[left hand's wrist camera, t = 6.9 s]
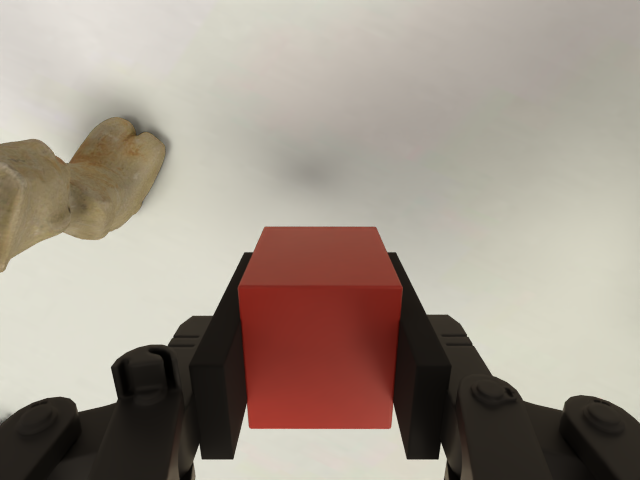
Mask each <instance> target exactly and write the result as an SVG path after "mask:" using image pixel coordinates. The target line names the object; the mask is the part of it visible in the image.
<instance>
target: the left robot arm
mask: <svg viewBox="0 0 640 480" xmlns="http://www.w3.org/2000/svg"><path fill="white" fill-rule="evenodd" d="M387 253H388V255H389V258H390V260H391V262H392V265H393V267H394V269H395V271H396V274H397V276H398V278H399V280H400V283H401V285H402V287H403V291H402V303H401V315H400V323H399V336H398V348H397V360H396V372H395V384H394V396H393V403H394V407H395V412H396V416H397V420H398V424H399V428H400V432H401V437H402V441H403V445H404V449H405V453H406V457H407V459H439V452H440V445H441V443H442V446H443V449H444V452H445V455H446V457H447V463H446V470H445V476H444V480H640V423H639V422H638V421H637V420H636V419H635V418H634V417H632V416H631V415H630V414H629V413H627V412H626V411H625V410H623V409H622V408H620V407H618V406H616V405H614V404H612V403H611V402H609V401H606V400H603V399H600V398H597V397H593V396H584V395H579V396H574V397H570V398H569V399H568V400H567V401H566V402H565V404H564V408H563V411H562V410H557V409H553V408H548V407H544V406H540V405H535V404H532V403H529V402H525V401H523V400H522V398H521V396H520V395H519V393H518V391H517V390H516V389H515V388H513V387H512V386H511V385H510V384H509V383H507V382H505V381H503V380H501V379H499V378H497V377H494V376H492V374H491V373H490V371H489V369H488V368H487V366H486V365H485V363H484V361H483V360H482V358H481V357H480V355H479V353H478V352H477V350H476V349H475V347H474V346H473V345H472V342H471V341H470V339H469V337H467V334H466V332H465V331H464V329H463V328H462V326H461V324H460V323H458V322H457V321H455V320H454V319H453V318H451V317H450V316H449V315H426V313H425V311H424V308H423V306H422V304H421V302H420V300H419V298H418V296H417V294H416V292H415V290H414V288H413V286H412V284H411V282H410V280H409V278H408V276H407V274H406V272H405V270H404V268H403V266H402V264H401V262H400V260H399V258H398V256H397V254H396V252H387ZM252 254H253V252H244V254H243V256H242V258H241V260H240V262H239V264H238V266H237V269H236V271H235V273H234V275H233V277H232V279H231V281H230V283H229V285H228V287H227V289H226V291H225V293H224V295H223V297H222V299H221V301H220V303H219V305H218V307H217V309H216V311H215V313H214V315H213V316H192V317H191V318H189V319H188V320H187V321H185V322H184V323H183V324H181V325H180V326H179V328H178V330H177V331H176V333H175V334H174V337H173V338H172V339H171V341H170V343H169V344H168V346H165V345H147V346H143V347H138V348H136V349H134V350H131V351H129V352H127V353H125V354H124V355H122V356H121V357H120V358H118V359H117V360H116V361H115V363H114V364H113V365H112V367H111V370H112V374H113V379H114V383H115V388H116V392H117V397H118V400H117V402H116V403H114V404H110V405H107V406H103V407H99V408H94V409H90V410H86V411H81V412H78V411H77V407H76V404H75V403H74V402H73V401H72V400H71V399H69V398H64V397H53V398H46V399H43V400H40V401H37V402H34V403H31V404H30V405H28V406H26V407H24V408H22V409H20V410H18V411H17V412H16V413H14V414H13V415H12V416H11V417H9V418H8V419H7V420H6V421H5V422H4V423H3V424H2V425H1V426H0V480H195V470H194V463H193V460H194V457H195V454H196V452H197V449H198V446H199V443H200V450H201V457H202V459H233V458H234V454H235V450H236V446H237V442H238V438H239V433H240V429H241V425H242V421H243V417H244V413H245V409H246V404H247V394H246V381H245V369H244V356H243V344H242V331H241V319H240V310H239V297H238V286H239V284H240V281H241V279H242V277H243V275H244V272H245V270H246V268H247V265H248V263H249V261H250V259H251V256H252Z"/></svg>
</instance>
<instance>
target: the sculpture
mask: <svg viewBox="0 0 640 480" xmlns="http://www.w3.org/2000/svg"><path fill="white" fill-rule="evenodd" d="M164 157H165V146H164V144H163V143H162V142H161V141H160V140H158V139H157V138H156V137H155V136H154V135H152V134H151V133H148V132H143V133H141V134H140V135H138V136H137V135H136V131H135V129H134V127H133V125H132V124H131V123H130V122H129V121H127V120H125V119H122V118H119V117H113V118H110V119H107V120H105V121H104V122H102V123H100V124H99V125H98V126H96V127H95V128H94V129H93V130H92V131H91V132H90V134H89V135H88V137H87V138H86V139H85V141H84V142H83V143H82V145H81V146H80V147H79V149H78V150H77V152H76V153H75V155H74V156H73V158H72V159H71V161H70V162H69V163H65V162H64V161H63V160H61V159H60V158H59V157H57V156H55V155H54V153H53V151H52V150H51V149H50V148H49V147H48V146H47V145H46V144H45V143H43V142H42V141H40V140H37V139H29V140H24V141H17V142H9V143H3V144H0V272H3V271H4V270H5V269H6V266H7V264H8V262H9V260H10V259H11V258H13V257H14V256H16V255H18V254H19V253H21V252H23V251H24V250H26V249H28V248H30V247H31V246H33V245H35V244H36V243H38V242H40V241H43V240H45V239H48V238H51V237H53V236H56V235H58V234H60V233H62V232H64V233H66V234H69V235H71V236H74V237H77V238H80V239H86V240H99V239H101V238H103V237H105V236H106V235H107V234H108V232H110V231H113V230H115V229H118V228H119V227H121V226H122V225H123V224H124V223H125V222H127V221H128V219H129V218H130V217H131V216H132V215H134V214H136V213H137V212H138V210H139V209H140V207H141V205H142V201H143V199H144V198H145V197H146V195H147V194H148V192H149V190H150V189H151V187H152V185H153V183H154V181H155V178H156V176H157V174H158V172H159V170H160V168H161V166H162V163H163V160H164Z"/></svg>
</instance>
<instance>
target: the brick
mask: <svg viewBox="0 0 640 480" xmlns="http://www.w3.org/2000/svg"><path fill="white" fill-rule="evenodd" d="M402 291H403V287H402V285H401V283H400V280H399V278H398V276H397V274H396V271H395V269H394V267H393V265H392V262H391V260H390V258H389V255H388V253H387V251H386V249H385V246H384V244H383V242H382V240H381V237H380V235H379V233H378V231H377V228H376V227H264V229H263V231H262V234H261V236H260V238H259V240H258V243H257V245H256V247H255V250H254V252H253V254H252V256H251V259H250V261H249V263H248V265H247V268H246V270H245V272H244V275H243V277H242V279H241V281H240V284H239V286H238V297H239V310H240V319H241V331H242V344H243V356H244V369H245V381H246V394H247V410H248V422H249V428H251V429H390V428H391V424H392V411H393V396H394V384H395V372H396V360H397V348H398V336H399V323H400V315H401V303H402Z"/></svg>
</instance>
